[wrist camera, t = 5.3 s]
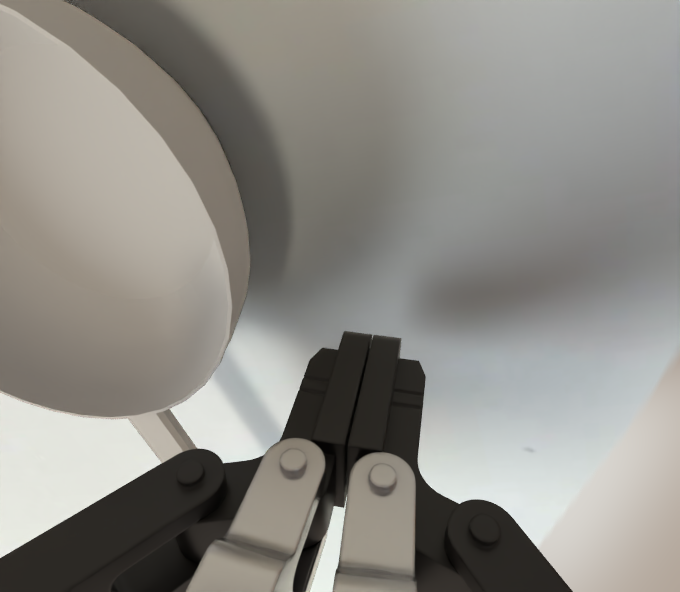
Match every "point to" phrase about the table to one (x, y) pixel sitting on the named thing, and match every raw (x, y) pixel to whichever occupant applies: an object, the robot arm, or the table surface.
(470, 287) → the table surface
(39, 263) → the saucepan
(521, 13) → the table surface
